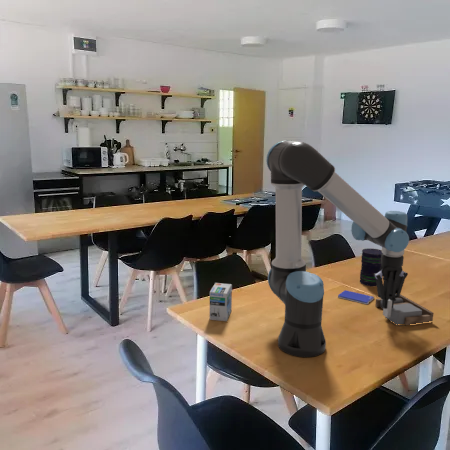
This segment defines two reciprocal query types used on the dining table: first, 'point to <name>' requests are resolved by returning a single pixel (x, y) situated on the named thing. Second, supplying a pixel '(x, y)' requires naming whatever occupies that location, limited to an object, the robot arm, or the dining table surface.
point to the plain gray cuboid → (403, 312)
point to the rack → (424, 317)
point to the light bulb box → (220, 301)
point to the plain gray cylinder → (398, 300)
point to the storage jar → (370, 266)
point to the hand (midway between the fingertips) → (386, 316)
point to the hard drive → (355, 297)
